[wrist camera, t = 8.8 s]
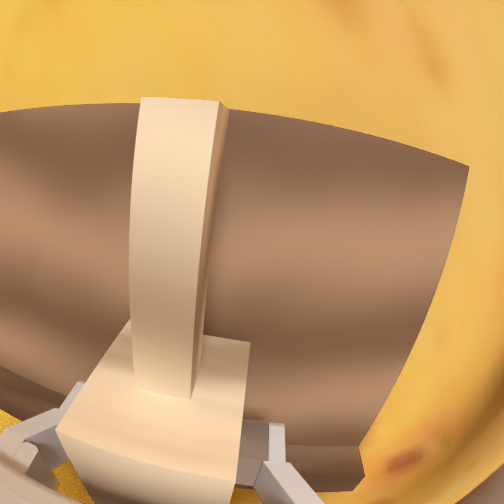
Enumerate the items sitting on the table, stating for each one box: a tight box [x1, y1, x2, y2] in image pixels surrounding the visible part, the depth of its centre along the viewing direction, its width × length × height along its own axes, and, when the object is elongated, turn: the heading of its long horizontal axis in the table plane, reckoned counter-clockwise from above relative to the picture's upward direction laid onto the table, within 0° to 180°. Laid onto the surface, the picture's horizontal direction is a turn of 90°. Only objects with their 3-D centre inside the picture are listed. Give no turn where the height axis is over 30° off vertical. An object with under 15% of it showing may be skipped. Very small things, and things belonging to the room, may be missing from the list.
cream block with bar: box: [55, 97, 250, 504], centre depth 7 cm, size 12×4×5 cm, turn 172°
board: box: [0, 103, 469, 492], centre depth 10 cm, size 14×30×4 cm, turn 82°
